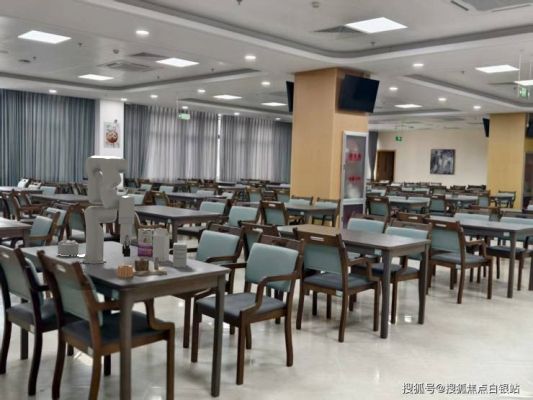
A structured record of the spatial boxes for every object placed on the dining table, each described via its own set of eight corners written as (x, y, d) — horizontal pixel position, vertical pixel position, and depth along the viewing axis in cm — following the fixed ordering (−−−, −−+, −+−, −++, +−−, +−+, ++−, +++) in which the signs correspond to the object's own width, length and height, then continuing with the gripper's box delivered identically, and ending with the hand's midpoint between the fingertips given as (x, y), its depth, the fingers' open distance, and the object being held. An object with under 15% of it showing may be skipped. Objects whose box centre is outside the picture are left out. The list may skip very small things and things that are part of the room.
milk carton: (164, 262, 307) (165, 229, 306) (152, 261, 308) (153, 228, 307) (168, 260, 314) (169, 228, 313) (157, 259, 315) (158, 227, 314)
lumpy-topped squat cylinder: (63, 257, 311) (63, 242, 311) (54, 254, 320) (54, 239, 320) (80, 255, 318) (80, 241, 318) (71, 252, 328) (71, 238, 327)
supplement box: (173, 264, 300) (174, 242, 299) (186, 265, 301) (187, 242, 300) (172, 267, 293) (172, 244, 292) (185, 267, 293) (186, 244, 292)
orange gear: (118, 277, 260) (118, 267, 260) (117, 274, 267) (117, 265, 267) (133, 277, 263) (133, 267, 262) (131, 274, 269) (132, 264, 269)
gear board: (133, 274, 268) (133, 259, 268) (131, 270, 279) (131, 255, 278) (166, 273, 274) (167, 258, 273) (163, 269, 284) (164, 254, 284)
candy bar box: (157, 256, 326) (157, 229, 325) (152, 257, 322) (153, 230, 321) (141, 254, 330) (142, 228, 329) (137, 255, 326) (137, 228, 325)
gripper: (117, 219, 270) (117, 253, 271) (119, 222, 254) (119, 258, 254) (132, 219, 272) (132, 252, 273) (135, 222, 256) (135, 257, 257)
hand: (126, 255), depth 264 cm, fingers open, 9 cm apart
